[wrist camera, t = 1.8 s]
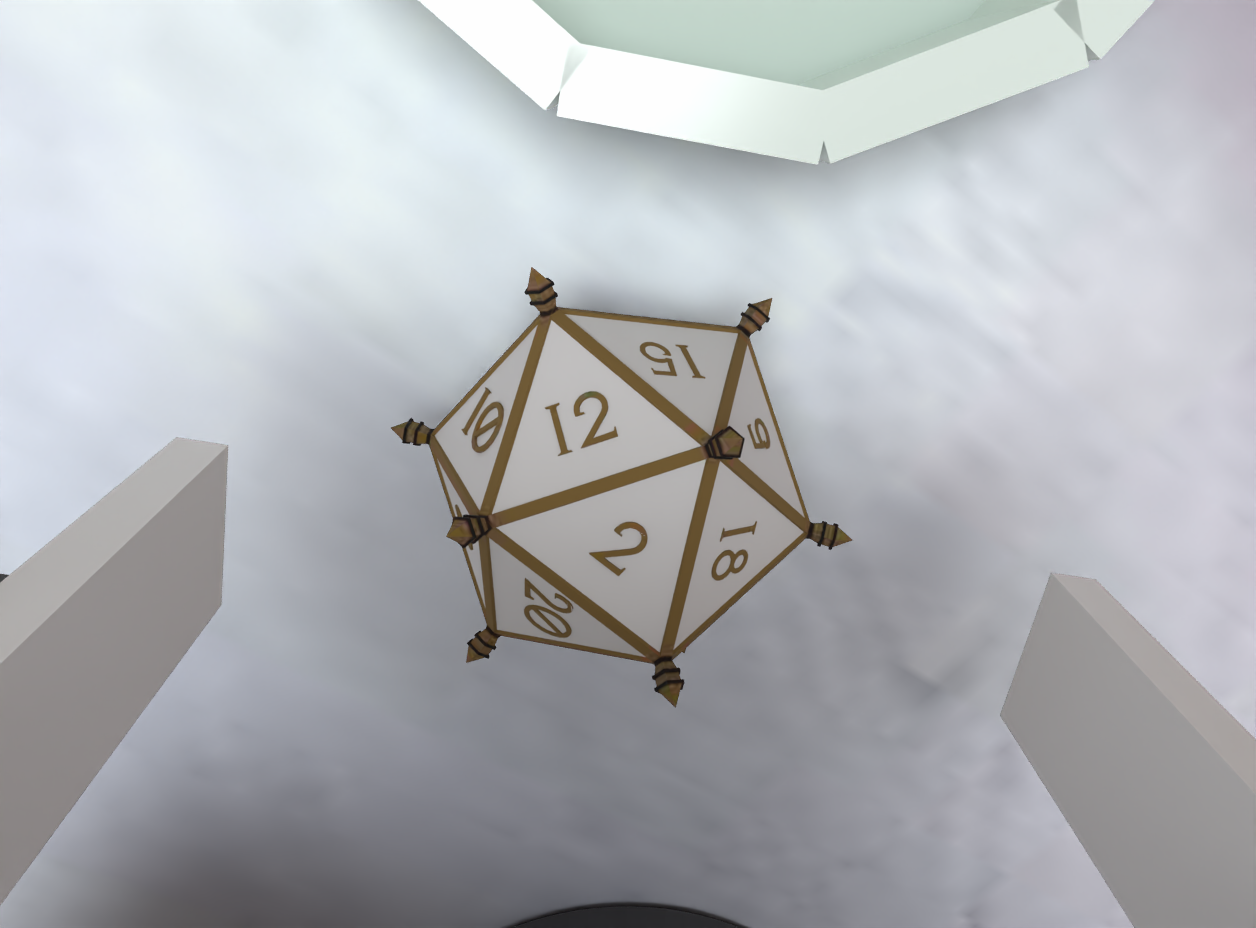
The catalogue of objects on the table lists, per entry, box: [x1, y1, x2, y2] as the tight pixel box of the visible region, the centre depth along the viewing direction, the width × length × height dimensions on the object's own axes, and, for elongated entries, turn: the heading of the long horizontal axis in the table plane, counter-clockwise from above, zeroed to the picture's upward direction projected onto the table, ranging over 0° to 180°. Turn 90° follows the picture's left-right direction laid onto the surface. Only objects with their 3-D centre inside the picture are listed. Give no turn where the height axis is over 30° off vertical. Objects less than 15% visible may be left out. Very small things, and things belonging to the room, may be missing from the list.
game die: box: [391, 267, 852, 707], centre depth 21 cm, size 9×8×10 cm
